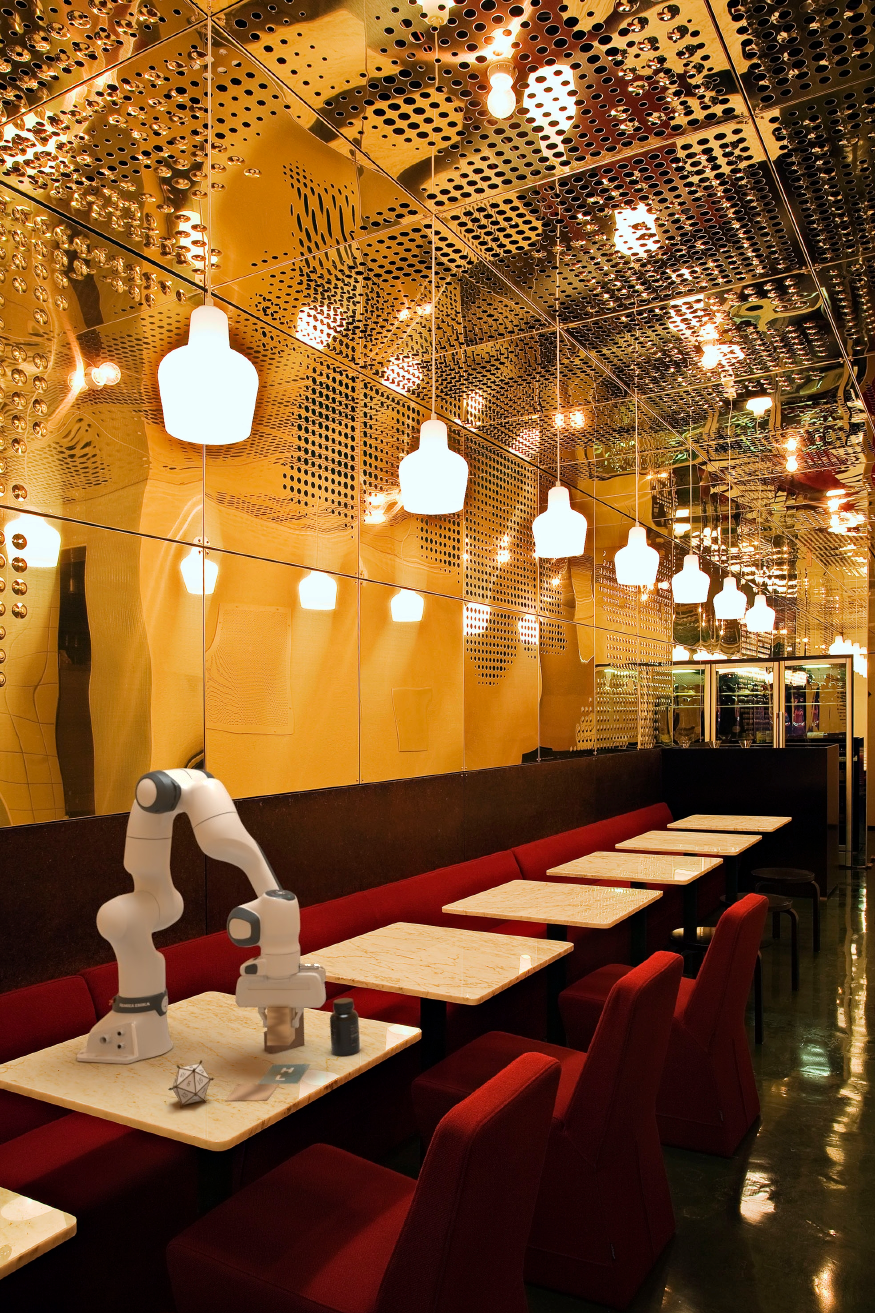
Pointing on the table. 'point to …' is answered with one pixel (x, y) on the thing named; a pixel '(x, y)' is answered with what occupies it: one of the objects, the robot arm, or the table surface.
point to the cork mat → (251, 1092)
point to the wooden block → (295, 1043)
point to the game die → (191, 1084)
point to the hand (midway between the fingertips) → (281, 1027)
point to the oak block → (280, 1025)
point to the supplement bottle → (344, 1028)
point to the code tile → (284, 1074)
